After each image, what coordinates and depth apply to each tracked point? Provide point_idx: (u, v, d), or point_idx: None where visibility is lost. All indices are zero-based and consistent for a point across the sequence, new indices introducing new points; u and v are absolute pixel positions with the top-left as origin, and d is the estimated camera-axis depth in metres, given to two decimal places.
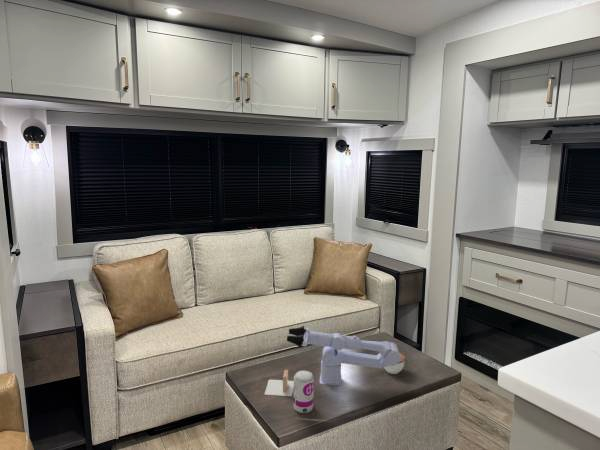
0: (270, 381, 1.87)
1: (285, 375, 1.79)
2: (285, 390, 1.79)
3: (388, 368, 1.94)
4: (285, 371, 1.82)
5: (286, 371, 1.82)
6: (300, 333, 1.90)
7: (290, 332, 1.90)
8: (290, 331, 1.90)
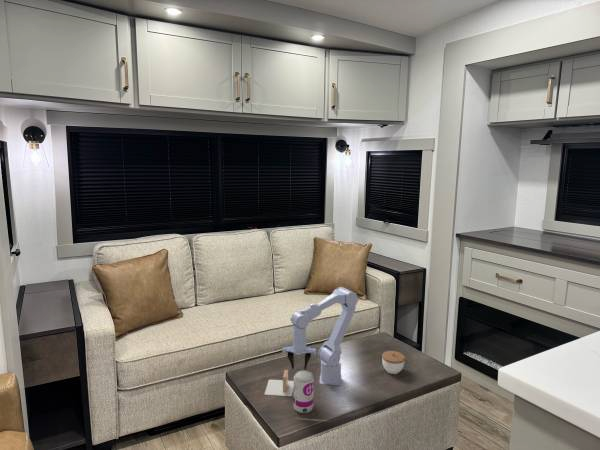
0: (270, 381, 1.87)
1: (285, 375, 1.79)
2: (285, 390, 1.79)
3: (388, 368, 1.94)
4: (285, 371, 1.82)
5: (286, 371, 1.82)
6: (293, 356, 1.79)
7: (293, 365, 1.80)
8: (293, 366, 1.80)
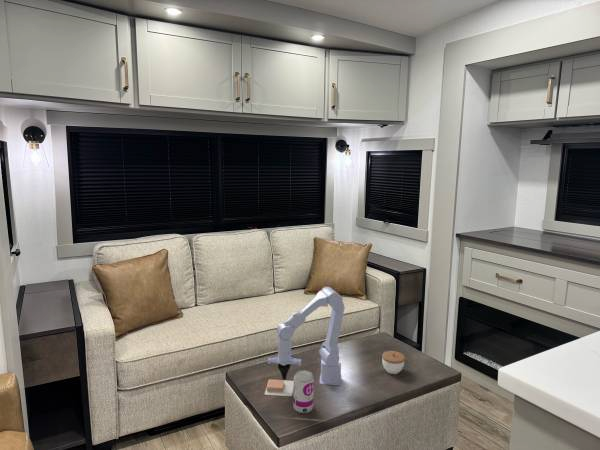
0: None
1: (267, 386, 1.81)
2: (281, 388, 1.79)
3: (388, 368, 1.94)
4: None
5: None
6: None
7: None
8: None
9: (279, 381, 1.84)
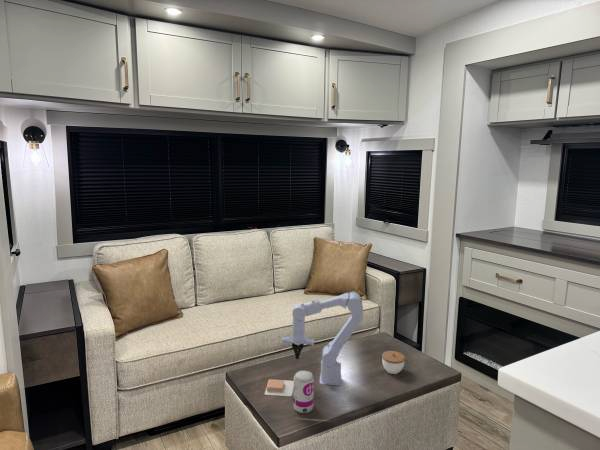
0: None
1: (267, 386, 1.81)
2: (281, 388, 1.79)
3: (388, 368, 1.94)
4: None
5: None
6: (297, 346, 1.88)
7: None
8: None
9: (279, 381, 1.84)
